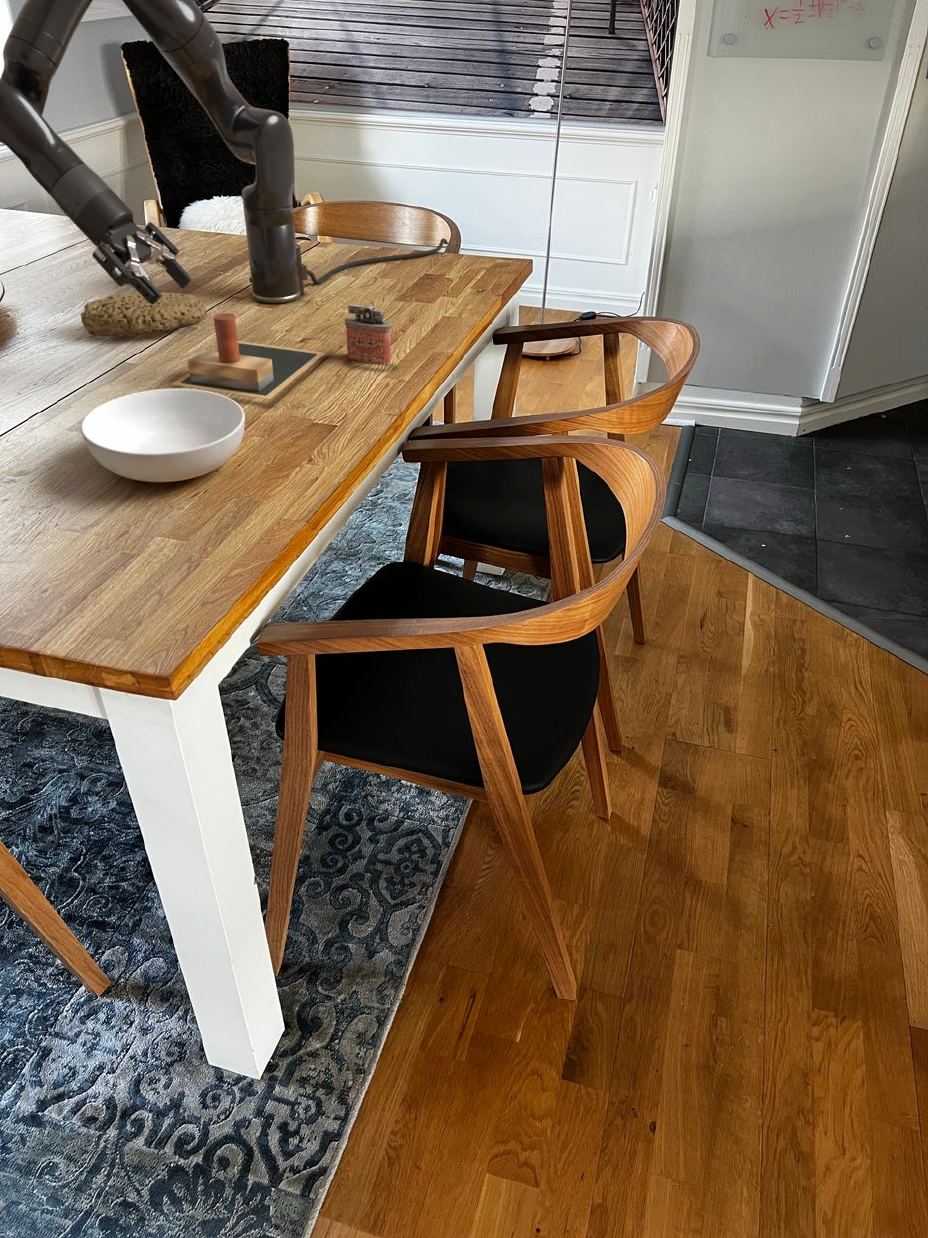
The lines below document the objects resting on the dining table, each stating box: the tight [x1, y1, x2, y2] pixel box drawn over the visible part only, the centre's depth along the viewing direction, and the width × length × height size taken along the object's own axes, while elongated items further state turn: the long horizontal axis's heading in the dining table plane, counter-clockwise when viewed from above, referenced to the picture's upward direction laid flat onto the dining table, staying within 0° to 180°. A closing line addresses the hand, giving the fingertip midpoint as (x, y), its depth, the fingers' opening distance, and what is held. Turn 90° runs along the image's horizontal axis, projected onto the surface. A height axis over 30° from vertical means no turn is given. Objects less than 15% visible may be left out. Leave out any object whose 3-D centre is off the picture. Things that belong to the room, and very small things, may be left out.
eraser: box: [187, 312, 274, 392], centre depth 148 cm, size 12×5×10 cm, turn 73°
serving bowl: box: [80, 388, 246, 483], centre depth 127 cm, size 21×21×7 cm
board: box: [171, 340, 326, 400], centre depth 156 cm, size 21×17×1 cm
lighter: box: [344, 303, 393, 372], centre depth 157 cm, size 8×3×10 cm, turn 71°
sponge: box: [80, 291, 208, 337], centre depth 170 cm, size 13×8×20 cm
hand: (172, 292), depth 145 cm, fingers open, 8 cm apart
